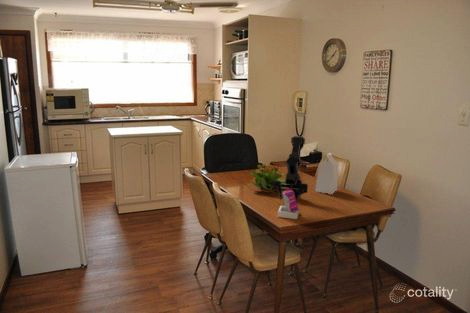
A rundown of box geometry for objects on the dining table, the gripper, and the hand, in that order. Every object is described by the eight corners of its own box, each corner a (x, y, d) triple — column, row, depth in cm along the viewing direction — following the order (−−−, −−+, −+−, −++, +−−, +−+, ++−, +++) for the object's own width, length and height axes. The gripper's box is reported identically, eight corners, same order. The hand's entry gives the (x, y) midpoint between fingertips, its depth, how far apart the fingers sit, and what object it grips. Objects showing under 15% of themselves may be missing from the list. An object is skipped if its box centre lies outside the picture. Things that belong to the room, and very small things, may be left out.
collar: (279, 210, 208) (280, 205, 208) (298, 212, 206) (298, 207, 205) (277, 216, 198) (277, 211, 198) (297, 219, 196) (297, 213, 195)
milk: (320, 187, 259) (323, 151, 254) (337, 190, 253) (340, 153, 248) (315, 191, 249) (318, 153, 244) (332, 194, 243) (335, 156, 238)
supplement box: (289, 213, 198) (283, 194, 197) (286, 210, 204) (280, 191, 202) (299, 210, 199) (293, 190, 197) (296, 207, 205) (290, 188, 203)
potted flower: (283, 197, 233) (284, 170, 229) (246, 194, 237) (247, 167, 234) (285, 187, 257) (287, 162, 253) (252, 184, 261) (253, 160, 258)
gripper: (274, 166, 203) (270, 190, 194) (309, 169, 199) (306, 194, 190) (275, 177, 212) (271, 200, 203) (308, 180, 207) (305, 204, 199)
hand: (288, 199), depth 198 cm, fingers closed on supplement box, 8 cm apart
